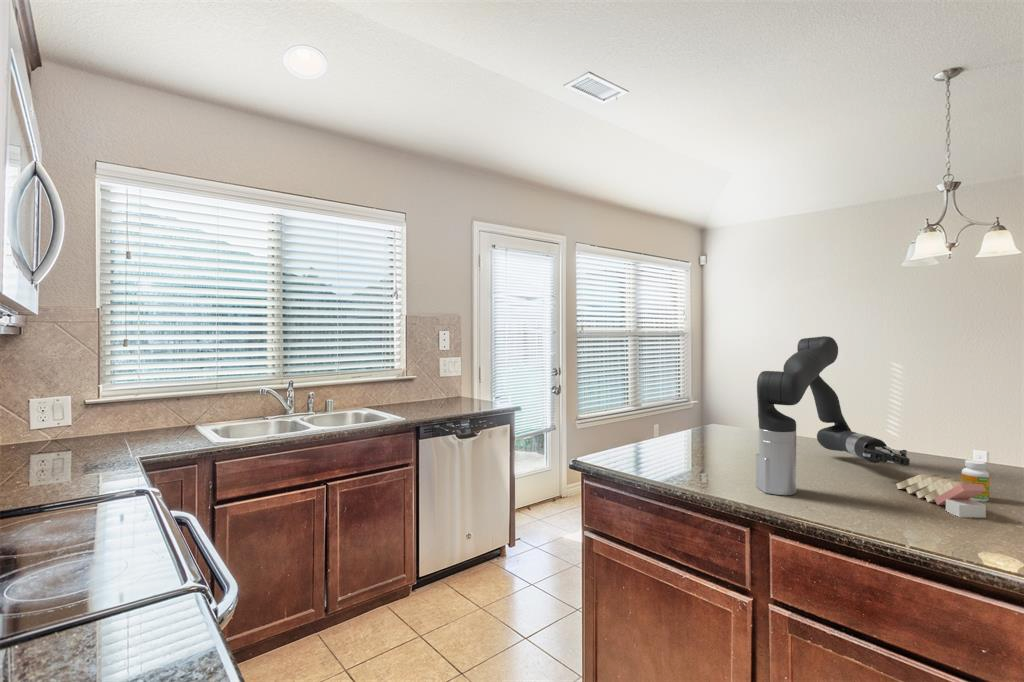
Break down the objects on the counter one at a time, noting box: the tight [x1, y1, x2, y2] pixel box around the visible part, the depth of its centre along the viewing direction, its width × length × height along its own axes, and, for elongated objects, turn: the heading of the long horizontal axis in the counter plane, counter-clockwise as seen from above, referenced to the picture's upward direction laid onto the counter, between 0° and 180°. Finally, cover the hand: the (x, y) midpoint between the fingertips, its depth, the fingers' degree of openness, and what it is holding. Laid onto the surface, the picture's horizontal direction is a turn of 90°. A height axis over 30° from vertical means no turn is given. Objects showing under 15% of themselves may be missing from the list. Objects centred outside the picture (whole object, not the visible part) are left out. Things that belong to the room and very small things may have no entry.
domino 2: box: [906, 476, 952, 495], centre depth 132 cm, size 5×2×10 cm
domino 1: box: [896, 473, 941, 490], centre depth 136 cm, size 5×2×10 cm
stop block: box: [945, 499, 987, 519], centre depth 121 cm, size 6×4×3 cm, turn 88°
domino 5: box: [934, 484, 986, 506], centre depth 123 cm, size 5×2×10 cm
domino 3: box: [915, 478, 962, 499], centre depth 129 cm, size 5×2×10 cm
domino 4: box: [925, 482, 972, 503], centre depth 126 cm, size 5×2×10 cm
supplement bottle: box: [960, 459, 990, 503], centre depth 132 cm, size 5×5×10 cm
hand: (906, 462), depth 140 cm, fingers closed
